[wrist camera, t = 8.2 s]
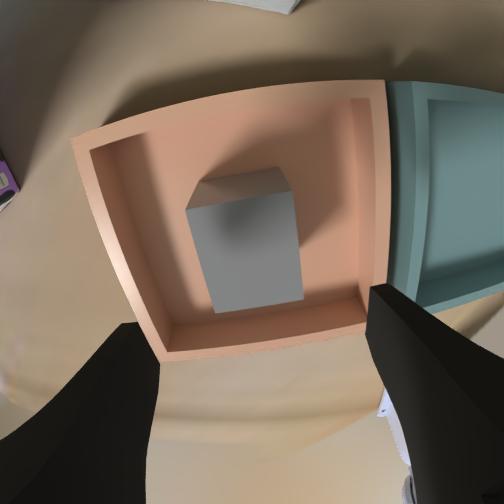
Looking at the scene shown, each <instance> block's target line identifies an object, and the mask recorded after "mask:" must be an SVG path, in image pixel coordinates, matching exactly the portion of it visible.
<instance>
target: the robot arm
mask: <svg viewBox="0 0 504 504" xmlns="http://www.w3.org/2000/svg"><path fill="white" fill-rule="evenodd" d="M365 336H366V339H367V342H368V345H369V349H370V352H371V355H372V358H373V361H374V363H375V366H376V368H377V370H378V372H379V375H380V377H381V379H382V381H383V384H384V386H385V390H384V393H383V397H382V400H381V403H380V406H379V409H378V412H377V416H378V417H383V416H387V419H388V422H389V425H390V428H391V431H392V433H393V436H394V439H395V442H396V445H397V448H398V451H399V454H400V457H401V458H402V460H403V461H404V462H405V463H406V464H408V465H409V466H411V467H409V471H410V475H409V476H407V477H406V479H405V482H404V485H403V488H402V501H403V504H504V359H503V358H501V357H499V356H497V355H495V354H494V353H492V352H490V351H488V350H486V349H484V348H483V347H481V346H479V345H477V344H476V343H474V342H472V341H471V340H469V339H467V338H466V337H464V336H463V335H461V334H460V333H458V332H456V331H455V330H453V329H452V328H450V327H449V326H447V325H446V324H444V323H443V322H442V321H440V320H439V319H437V318H436V317H434V316H433V315H432V314H430V313H429V312H428V311H426V310H425V309H423V308H422V307H421V306H419V305H418V304H417V303H415V302H414V301H413V300H411V299H410V298H408V297H407V296H406V295H404V294H403V293H402V292H400V291H399V290H398V289H396V288H395V287H393V286H392V285H390V284H389V283H384V284H379V285H375V286H370V289H369V302H368V313H367V323H366V332H365ZM159 375H160V363H159V361H158V359H157V358H156V356H155V354H154V352H153V350H152V348H151V347H150V345H149V343H148V341H147V339H146V337H145V335H144V333H143V331H142V329H141V327H140V326H139V324H138V322H132V323H122V324H121V325H120V326H119V327H118V328H117V329H116V330H115V331H114V332H113V333H112V334H111V335H110V336H109V337H108V338H107V339H106V340H105V342H104V343H103V344H102V345H101V346H100V347H99V348H98V350H97V351H96V352H95V353H94V354H93V355H92V356H91V358H90V359H89V360H88V361H87V362H86V363H85V364H84V366H83V367H82V368H81V369H80V370H79V371H78V372H77V373H76V374H75V376H74V377H73V378H72V379H71V380H70V381H69V382H68V383H67V384H66V385H65V386H64V387H63V389H62V390H61V391H60V392H59V393H58V394H57V395H56V396H55V397H54V398H53V399H52V400H51V401H50V402H49V403H47V404H46V405H45V406H44V407H43V408H42V409H41V410H40V411H39V412H38V413H36V414H35V415H34V416H33V417H31V418H30V419H29V420H28V421H27V422H25V423H24V424H23V425H21V426H20V427H19V428H18V429H16V430H15V431H13V432H12V433H11V434H9V435H8V436H6V437H5V438H4V439H2V440H0V504H146V492H145V479H146V456H147V447H148V442H149V437H150V432H151V426H152V421H153V416H154V411H155V406H156V401H157V396H158V389H159Z"/></svg>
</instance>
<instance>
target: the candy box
mask: <svg viewBox="0 0 504 504" xmlns="http://www.w3.org/2000/svg"><path fill="white" fill-rule="evenodd" d="M18 193H19V188H18V186H17V184H16V182H15V180H14V178H13V176H12V174H11V172H10V170H9V168H8V166H7V164H6V162H5V161H4V159H3V157H2V154H1V152H0V212H1V211H2V210H3V209H4V208H5V207H6V206H7V205H8V204H9V203H10V202H11V201H12V200H13V199H14V198H15V197H16V195H17V194H18Z"/></svg>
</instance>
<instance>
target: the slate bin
mask: <svg viewBox="0 0 504 504" xmlns="http://www.w3.org/2000/svg"><path fill="white" fill-rule="evenodd" d="M385 89H386V98H387V109H388V121H389V136H390V158H391V217H390V239H389V255H388V267H387V278H386V283H389V284H390V285H392V286H393V287H395V288H396V289H398V290H399V291H400V292H402V293H403V294H404V295H406V296H407V297H408V298H410V299H411V300H413V301H414V302H415V303H417V304H418V305H419V306H421V307H422V308H423V309H425V310H426V311H428V312H429V313H430V314H434V313H437V312H440V311H444V310H447V309H450V308H453V307H456V306H459V305H462V304H465V303H468V302H471V301H474V300H477V299H480V298H483V297H485V296H488V295H491V294H494V293H496V292H499V291H502V290H504V94H503V93H498V92H493V91H488V90H483V89H477V88H471V87H464V86H457V85H449V84H440V83H430V82H418V81H387V82H385Z"/></svg>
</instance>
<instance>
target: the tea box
mask: <svg viewBox="0 0 504 504" xmlns="http://www.w3.org/2000/svg"><path fill="white" fill-rule="evenodd" d="M210 1H218V2H225V3H232V4H238V5H243V6H249V7H253V8H258V9H263V10H268V11H273V12H279V13H283V14H286V15H289V14H290V13H291V12H292V11H293V9H294V8H295V7H296V5H297V4H298V3H299V1H300V0H210Z"/></svg>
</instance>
